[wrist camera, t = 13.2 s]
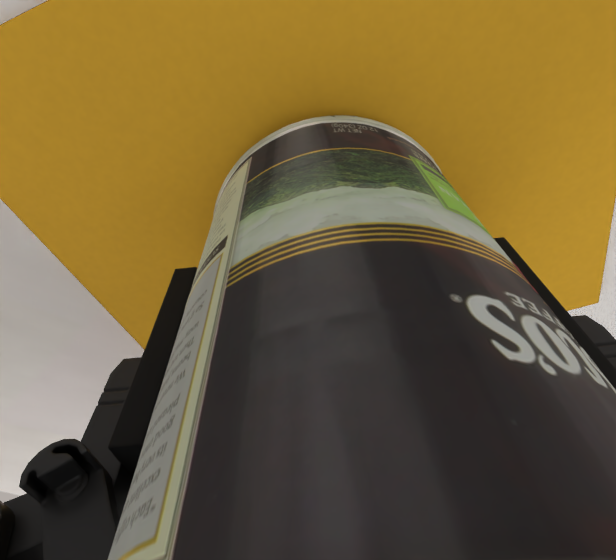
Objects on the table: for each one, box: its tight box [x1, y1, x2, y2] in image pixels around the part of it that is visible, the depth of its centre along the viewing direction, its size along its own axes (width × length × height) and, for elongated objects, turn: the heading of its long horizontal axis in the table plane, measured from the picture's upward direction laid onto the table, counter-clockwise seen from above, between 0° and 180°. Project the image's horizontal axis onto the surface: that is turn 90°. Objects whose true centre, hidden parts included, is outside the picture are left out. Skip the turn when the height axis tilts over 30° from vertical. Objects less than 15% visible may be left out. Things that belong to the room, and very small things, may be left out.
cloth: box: [0, 0, 616, 350], centre depth 18 cm, size 26×22×1 cm
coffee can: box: [108, 115, 616, 560], centre depth 11 cm, size 10×10×14 cm
